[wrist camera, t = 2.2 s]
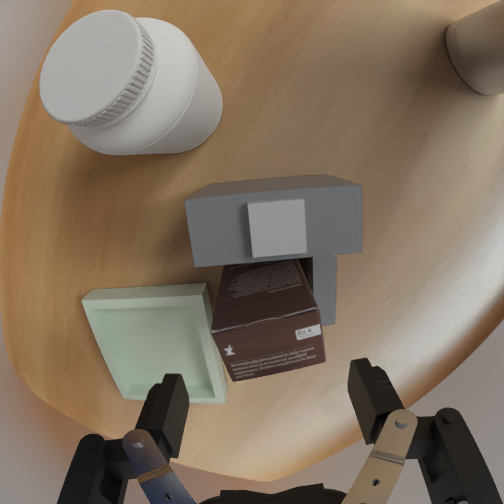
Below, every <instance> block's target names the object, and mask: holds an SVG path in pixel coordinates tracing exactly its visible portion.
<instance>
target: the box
mask: <svg viewBox="0 0 504 504" xmlns="http://www.w3.org/2000/svg"><path fill="white" fill-rule="evenodd" d="M210 333H211V335H212V337H213V339H214V342H215V344H216V346H217V348H218V350H219V353H220V355H221V357H222V359H223V361H224V364H225V366H226V368H227V371H228V373H229V375H230V377H231V379H232V381H233V382H235V381H241V380H247V379H252V378H257V377H262V376H267V375H272V374H277V373H281V372H286V371H290V370H295V369H299V368H303V367H307V366H311V365H315V364H319V363H323V362H326V357H325V348H324V340H323V333H322V326H321V316H320V310H319V307H318V305H317V302H316V300H315V298H314V295H313V293H312V291H311V289H310V286H309V284H308V282H307V279H306V277H305V274H304V272H303V270H302V268H301V265H300V263H299V261H298V258H295V259H285V260H274V261H263V262H251V263H240V264H229V265H224V269H223V274H222V279H221V284H220V288H219V293H218V298H217V303H216V308H215V313H214V317H213V322H212V327H211V331H210Z"/></svg>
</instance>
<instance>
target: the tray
mask: <svg viewBox="0 0 504 504" xmlns="http://www.w3.org/2000/svg"><path fill="white" fill-rule="evenodd" d="M81 301H82V304H83V307H84V310H85V312H86V315H87V318H88V321H89V323H90V326H91V328H92V331H93V334H94V336H95V338H96V341H97V343H98V346H99V348H100V350H101V353H102V355H103V357H104V360H105V362H106V364H107V366H108V368H109V370H110V373H111V375H112V377H113V379H114V381H115V383H116V385H117V387H118V389H119V391H120V393H121V395H122V397H123V398H124V399H133V400H144V401H145V400H146V397H147V395H148V392H149V390H150V389H151V388H152V387H153V386H154V384H155V383H162V380H163V377H164V375H165V374H166V373H180V374H182V377H183V380H184V383H185V386H186V389H187V392H188V395H189V403H226V397H227V388H228V387H227V383H226V378H225V374H224V369H223V364H222V360H221V355H220V353H219V350H218V348H217V346H216V344H215V342H214V339H213V337H212V335H211V333H210V331H211V327H212V322H213V315H212V309H211V304H210V298H209V293H208V287H207V282H204V283H191V284H176V285H161V286H145V287H128V288H109V289H92V290H91V291H90V292H89V293H88V294H87V295H86V296H85V297H84V298H83V299H82V300H81Z"/></svg>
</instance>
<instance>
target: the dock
mask: <svg viewBox="0 0 504 504" xmlns="http://www.w3.org/2000/svg"><path fill="white" fill-rule="evenodd" d="M184 202H185V209H186V216H187V223H188V229H189V235H190V242H191V248H192V254H193V259H194V265H195V267H205V266H217V265H229V264H240V263H251V262H263V261H274V260H285V259H295V258H306V257H307V269H308V284H309V286H310V289H311V291H312V293H313V295H314V298H315V300H316V302H317V305H318V307H319V310H320V316H321V326H325V325H332V324H335V310H336V271H337V255H338V254H348V253H358V252H362V185H359V184H356V183H352V182H349V181H346V180H343V179H339V178H336V177H332V176H329V175H325V174H323V175H306V176H291V177H278V178H266V179H255V180H245V181H235V182H226V183H217V184H209V185H207V186H206V187H204V188H203V189H201V190H200V191H198V192H196V193H195V194H193V195H192V196H190V197H189V198H187V199H186V200H184Z"/></svg>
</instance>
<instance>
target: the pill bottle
mask: <svg viewBox="0 0 504 504" xmlns="http://www.w3.org/2000/svg"><path fill="white" fill-rule="evenodd" d="M39 90H40V97H41V101H42V104H43V106H44V108H45V109H46V111H47V112H48V114H49V115H50V116H51V117H52V118H53V119H55V120H56V121H58V122H60V123H63V124H67V125H68V127H69V128H70V130H71V132H72V133H73V134H74V136H75V137H76V138H77V139H78V140H79V141H80V142H82V143H83V144H84V145H86V146H87V147H89V148H90V149H92V150H94V151H97V152H99V153H103V154H108V155H136V154H171V153H182V152H186V151H189V150H191V149H193V148H196V147H197V146H199V145H201V144H202V143H203V142H205V141H206V140H207V139H208V138H209V137H210V136H211V135H212V134H213V132H214V131H215V129H216V128H217V126H218V124H219V121H220V119H221V115H222V109H223V101H222V94H221V91H220V88H219V86H218V84H217V83H216V81H215V79H214V78H213V76H212V74H211V73H210V71H209V69H208V68H207V66H206V65H205V63H204V61H203V60H202V58H201V57H200V55H199V53H198V52H197V50H196V49H195V47H194V46H193V44H192V43H191V41H190V40H189V38H188V37H187V36H186V35H185V34H184V33H183V32H182V31H181V30H180V29H178V28H177V27H175V26H174V25H172V24H170V23H167V22H165V21H162V20H158V19H154V18H134V17H132V16H131V15H130V14H128V13H126V12H125V13H124V12H123V11H119V10H103V11H98V12H94V13H91V14H89V15H87V16H85V17H83V18H81V19H79V20H78V21H76V22H75V23H73V24H72V25H71V26H70V27H68V28H67V29H66V30H65V31H64V32H63V33H62V34H61V35H60V36H59V38H58V39H57V40H56V41H55V43H54V44H53V46H52V47H51V49H50V51H49V52H48V54H47V56H46V59H45V61H44V64H43V67H42V70H41V75H40V82H39Z"/></svg>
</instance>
